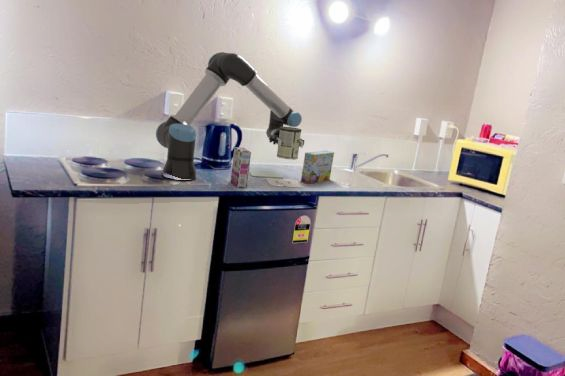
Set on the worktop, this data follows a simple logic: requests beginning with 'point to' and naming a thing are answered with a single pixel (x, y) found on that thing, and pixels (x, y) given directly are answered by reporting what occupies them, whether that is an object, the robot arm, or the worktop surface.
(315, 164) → the snack box
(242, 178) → the candy bar box
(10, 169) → the worktop surface
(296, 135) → the coffee can
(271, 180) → the tile
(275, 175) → the sage board
